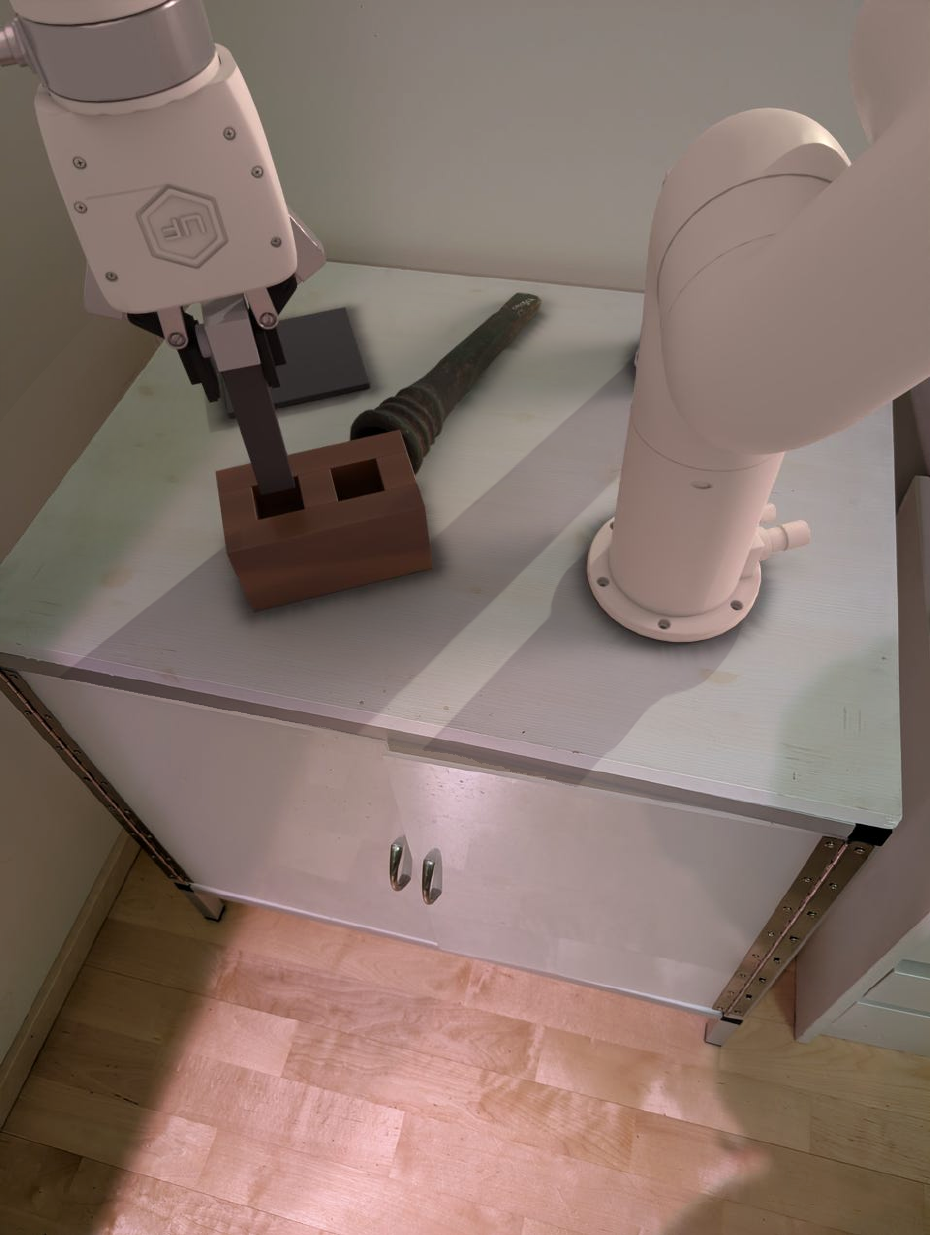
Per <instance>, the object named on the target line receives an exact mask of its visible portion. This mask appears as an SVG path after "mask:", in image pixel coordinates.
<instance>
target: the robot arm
mask: <svg viewBox="0 0 930 1235" xmlns="http://www.w3.org/2000/svg"><path fill="white" fill-rule="evenodd" d="M8 1H9V3H10V5H11V8H12V10H13V12H11V14H10V21H7V22H3V24H2V26H3V27H2V26H1V27H0V67H2V68H4V67H9V66H15V65H18V66H19V67H20V68H26V67H28V68H29V69H30V71H31V73H32V74H33V75H35V74H37V77H38V79H39V81H40V83H39V85H38V87H37V88H36V94H35V96H34V99H33V106H34V111H35V115H36V119H37V123H38V127H39V131H40V135H41V137H42V138H41V139H42V141H43V145H44V148H45V151H46V154H47V157H48V160H49V163H50V167H51V170H52V172H53V176H54V178H55V181H56V184H57V186H58V189H59V192H60V195H61V197H62V200H63V203H64V205H65V208H66V210H67V213H68V216H69V219H70V221H71V224H72V225H73V228H74V231H75V233H76V236H77V239H78V241H79V243H80V246H81V248H82V251H83V253H84V256H85V258H86V260H87V261H86V268H85V269H86V270H85V280H84V289H83V306H84V309H85V311H86V312H87V313H88V314H90V315H93V316H96V317H97V316H98V317H102V318H107V319H112V320H116V321H121V322H123V321H128V322H129V323H130V324H132V325H133V326H135V327H138V328H140V329H142V330H144V331H146V332H148V333H150V334H152V335H154V336H157V337H159V338H161V339H163V340H165V343H166V344H167V346H168V347H170V348H171V349H173V350H176V351H177V354H178V356H179V358H180V361H181V364H182V365H183V368H184V371H185V373H186V375H187V377H188V380H189V382H190V385H191V386H194V385H201V386H202V389H203V392H204V393H205V396H206V398H207V401H208V403H209V404H211V403H215V402H216V403H217V402H219V399H221V398H222V395H221V391H220V390H221V388H220V382H219V376H218V369H217V366H216V363H215V362H214V359H213V356H212V357H207V358H204V357H203V355H202V353H201V350H200V347H199V344H198V340H197V336H196V331H195V325H197V324H200V322H199V320H198V319H195V318H194V315H193V314H190V313H188V312H186V311H185V307H186V306H191V305H195V304H199V303H200V304H201V302H204V301H209V300H214V299H218V298H223V297H228V296H232V295H237V294H241V293H245V297H246V301H247V304H248V311H249V316H250V321H251V326H252V331H253V335H254V339H255V343H256V347H257V350H258V354H259V358H260V362H261V365H262V368H263V371H264V374H265V377H266V380H267V383H268V386H269V387H271V386H272V388H278V387H281V384H280V380H279V375H278V371H277V366H280V365H284V364H287V362H286V357H285V353H284V349H283V346H282V342H281V339H280V336H279V332H278V329H277V324H278V322H279V321H280V318H279V316H280V315H281V313H282V311H283V310H284V309H285V307H286V305H287V304H288V303H289V301H290V299H291V298H292V297H293V295H294V294H295V292H296V291H297V289H298V285H300V284H301V283H304V282H306V281H307V280H308V279H309V278H310V277H311V276H313V275H315V273H316V272H318V271H319V270H320V269H322V268H323V267H324V266H325V265H326V263H327V260H328V258H327V254H326V251H325V248H324V245H323V243H322V241H321V240H320V239H319V238H318V237H317V236H316V235H315V233H313V231H312V230H311V229H310V228H309V227H308V226H307V225H306V224H305V222H303V220H302V219H301V218H300V217H299V216H298V215H297V213H296V212H295V211H294V210H293V209H292V208H291V207H290V205H288V204H287V202H286V199H285V196H284V193H283V189H282V186H281V182H280V180H279V176H278V172H277V168H276V166H275V162H274V159H273V156H272V152H271V150H270V145H269V142H268V140H267V136H266V133H265V130H264V127H263V125H262V122H261V119H260V118H261V117H260V116H259V112H258V110H257V107H256V105H255V102H254V100H253V98H252V95H251V92H250V90H249V88H248V86H247V83H246V81H245V79H244V77H243V74H242V72H241V71H240V70H241V69H240V68H239V66H238V64H237V61H235V59H234V57H233V55H232V53H231V51H230V50H229V49H228V48H227V47H225V46H223V45H221V44H219V43H218V42H217V43H216V42H215V41H214V37H213V34H212V30H211V26H210V22H209V19H208V15H207V11H206V8H205V4H204V0H8ZM848 75H849V82H850V90H851V94H852V98H853V99H852V100H853V103H854V105H855V108H856V113H857V116H858V119H859V121H860V124H861V127H862V129H863V133H864V135H865V138H866V141H867V144H868V146H869V147H868V148H867V149H866V150H865V151H864V152H862V154H861V155H860V156H858V157H857V158H856V159H855V160H854V161H853V162H851V160H850V159H849V157H848V155H847V154H846V152H845V150H844V149H843V148H842V147H841V145H840V144H839V142H838V140H837V139H836V138H835V137H834V136H833V135H832V134H831V133H830V132H829V130H828V129H826V128H825V127H824V126H822V125H821V124H820V123H819V122H817V121H816V120H814V119H812V118H810V117H809V116H807V115H804V114H802V113H799V112H798V111H797V112H796V111H794V110H789V109H785V108H777V107H776V108H775V107H763V108H760V107H759V108H752V109H749V110H744V111H741V112H738V113H735V114H732V115H730V116H728V117H726V118H724V119H722V120H720V121H719V122H717V123H714V124H713V125H711V126H710V127H709V128H708V129H706V130H704V131H703V132H702V133H701V134H700V135H699V136H698V137H696V138H695V139H694V140H693V141H692V142H691V143H690V144H689V145H688V146H687V147H686V149H685V150H684V151H683V152H682V153H681V155H680V156H679V157H678V159H677V160H676V161H675V163H674V164H675V165H674V164H673V165H674V166H673V165H672V166H673V168H672V170H671V171H670V173H669V175H668V177H667V179H666V181H665V183H664V185H663V184H662V185H663V187H662V186H661V189H662V190H660V191H659V192H660V193H659V195H658V198H657V200H656V204H655V207H654V212H653V215H652V221H651V226H650V231H649V232H650V233H649V238H648V239H649V241H648V248H647V250H648V251H647V259H646V260H647V261H646V273H645V286H644V287H645V288H644V298H643V308H642V309H643V310H642V320H641V327H642V329H641V328H640V334H641V339H640V338H639V341H640V347H639V346H638V347H639V356H638V363H637V371H636V370H635V377H634V378H635V379H634V384H633V385H634V387H633V393H632V400H631V404H630V408H629V409H630V410H629V416H628V422H627V423H628V424H627V430H626V437H625V443H624V450H623V458H622V463H621V464H622V465H621V472H620V478H619V484H618V485H619V486H618V493H617V498H616V506H615V512H614V515H613V516H612V517H611V518H610V519H609V520H607V521H606V522H605V523H604V524H603V525H602V526H601V527H600V529H599V530H598V531H597V532H596V533H595V535H594V537H593V539H592V541H591V543H590V546H589V549H588V554H587V561H586V563H587V564H586V574H587V580H588V581H587V582H588V585H589V587H590V590H591V593H592V595H593V596H594V598H595V599H596V601H597V603H598V604H599V606H600V607H601V609H603V610H604V611H605V612H606V613H607V614H608V616H610V618H612V619H613V620H614V621H616V622H617V623H619V624H620V625H621V626H622V627H624V628H625V629H628V630H631V631H632V632H634V633H636V634H638V635H641V636H644V637H647V638H650V639H653V640H657V641H663V642H672V643H693V642H698V641H703V640H709V639H711V638H714V637H716V636H719V635H720V636H721V635H722V634H724V633H726V632H727V631H730V630H731V629H732V628H734V627H736V626H737V625H738V624H739V623H740V622H741V621H742V620H743V619H744V618H746V617H747V615H748V613H749V612H750V611H751V609H752V607H753V606H754V604H755V601H756V599H757V597H758V594H759V592H760V587H761V582H762V571H761V563H760V562H762V561H766V560H769V559H770V557H771V555H772V554H773V553H777V552H780V551H783V552H786V551H789V550H794V549H797V548H802V547H804V546H807V545H809V544H810V542H811V530H810V527H809V525H808V524H807V522H806V521H804V520H803V519H798V520H794V521H790V522H786V523H782V524H777V525H776V526H774V527H771V528H767V529H766V528H764V527H763V526H760V525H763V524H768V523H771V522H775V521H776V520H777V516H778V515H777V514H778V513H777V509H776V506H775V504H773V503H772V502H768V501H769V498H770V495H771V492H772V490H773V487H774V484H775V481H776V479H777V476H778V473H779V470H780V468H781V465H782V463H783V459H784V457H785V454H786V452H789V451H794V450H798V449H800V448H803V447H807V446H810V445H813V444H815V443H819V442H820V441H822V440H825V439H828V438H829V437H832V436H834V435H836V434H837V433H839V432H842V431H844V430H845V429H848V428H849V427H851V426H853V425H855V424H857V423H858V422H860V421H862V420H863V419H865V418H867V417H868V416H870V415H872V414H873V413H876V411H878V410H880V409H881V408H883V407H884V406H886V405H888V404H889V403H891V402H892V401H894V400H896V399H897V398H899V397H900V396H902V395H903V394H905V393H906V392H908V391H909V390H911V389H913V388H914V387H916V386H917V385H919V384H920V383H923V382H924V381H926V379H928V378H930V0H865V1H864V2H863V4H862V6H861V8H860V11H859V14H858V16H857V19H856V21H855V23H854V26H853V29H852V32H851V38H850V43H849V51H848ZM184 306H185V307H184Z"/></svg>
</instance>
